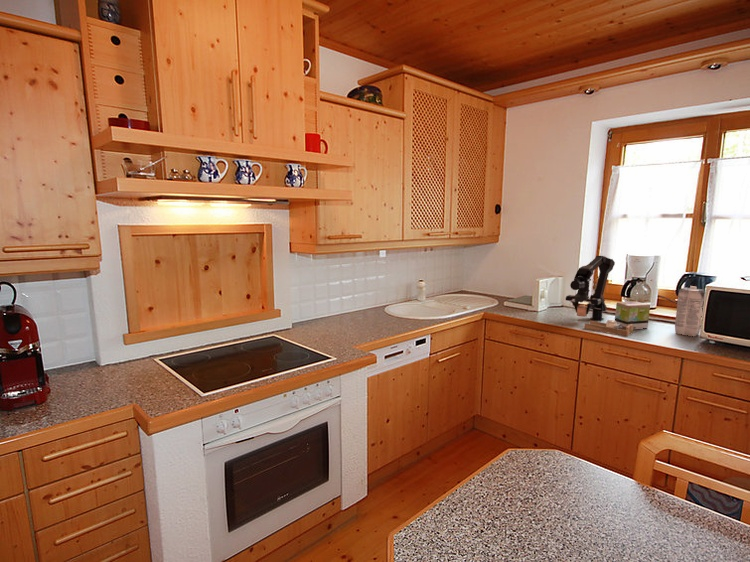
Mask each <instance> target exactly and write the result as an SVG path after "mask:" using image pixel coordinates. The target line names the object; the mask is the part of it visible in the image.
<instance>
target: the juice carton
mask: <svg viewBox="0 0 750 562" xmlns="http://www.w3.org/2000/svg"><path fill="white" fill-rule="evenodd" d="M689 286H690V287H682V288H680V289H679V290H678V296H677V304H676V314H675V321H674V322H675V323H674V330H675V334H676V333H677V335H681V334H682V335H683V336H687V335H688V336H687V337H692V336H693V337H696V336H698V335H699V333H700V332H701V327H700V325H701V326H702V320H701V316H702V317H703V312H702V308H703V309H704V303H703V301H705V289H701V288H697V286H693V285H689ZM682 335H681V336H682ZM693 337H692V338H693Z"/></svg>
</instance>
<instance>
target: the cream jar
mask: <svg viewBox="0 0 750 562" xmlns="http://www.w3.org/2000/svg"><path fill="white" fill-rule="evenodd" d="M605 323H606V327H610V328H616V325H617V322H616V321H615V319H614V320H613V319H612V320H610V319H608V320H607V321H606V322H605Z"/></svg>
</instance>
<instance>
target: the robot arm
mask: <svg viewBox="0 0 750 562" xmlns="http://www.w3.org/2000/svg"><path fill="white" fill-rule="evenodd" d="M615 264H616V262H615V261H614V259H613V258H609V257H607V256H606V255H596V256H595V258H593V259H592V260H591V261H590V262H589V263H588V264H586V265H582V266H580V267H579V268H578V270H577V272H576V274H575V276H574V278H573V280H572V281H571V282H570V283H569V284H570V285H569V286H570V289H571V290H573V291H577V292H576V294H575V295H573V294H568V295H566V296H565V301H569V302H570V303H572V305H573V307H574V310H575V313H576V314H577V307H578V305H579V303H583V302H587V303H586V306H587V311H586V314H587V315H588V314H589V313H590V310H592V313H591V317H590V318H589V320H593V319H594V320H593V321H599V320H600V321H603V320H604V319H605V318H604V317H603V313H604V312H606V311H607V309H608V307H607V305H606V303H605V301H606V300H605V297H604V293H605V290H606V289H605V288H606V285H607V280H608V278H609V274H610V273H611V272H612V270H613V269H614V266H615ZM597 268H598V270H599V275H598V279H597V282H596V286H595V290H594V293H593V294H591V295H590V296H589V294H590V292H591V291H590V281H592V279H591V278H592V276H593V274H594V271H595V270H596V269H597ZM600 321H599V322H600Z"/></svg>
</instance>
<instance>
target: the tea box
mask: <svg viewBox="0 0 750 562" xmlns="http://www.w3.org/2000/svg"><path fill="white" fill-rule="evenodd" d="M650 313H651V304H649V303H644V302H640V301H621V302H616V306H615V314H614V316H615V317H614V321H616V322H617V325H618V324H619V323H621V326H625V327H627V326H629V325H630V324H633V330H644V329H643V328H647V329H648V326H649V320H650V319H649V318H650Z"/></svg>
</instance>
